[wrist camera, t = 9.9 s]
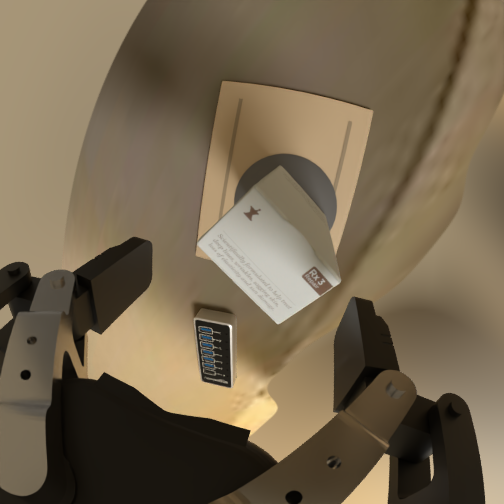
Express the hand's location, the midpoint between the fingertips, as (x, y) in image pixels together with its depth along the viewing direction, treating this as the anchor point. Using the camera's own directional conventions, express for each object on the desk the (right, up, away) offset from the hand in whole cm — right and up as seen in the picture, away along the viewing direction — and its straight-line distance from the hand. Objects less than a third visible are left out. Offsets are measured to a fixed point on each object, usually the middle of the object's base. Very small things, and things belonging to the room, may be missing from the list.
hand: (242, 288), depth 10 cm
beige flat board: (+3, +7, +13) cm, 15 cm away
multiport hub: (-4, -10, +22) cm, 25 cm away
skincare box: (+4, +5, +13) cm, 15 cm away
